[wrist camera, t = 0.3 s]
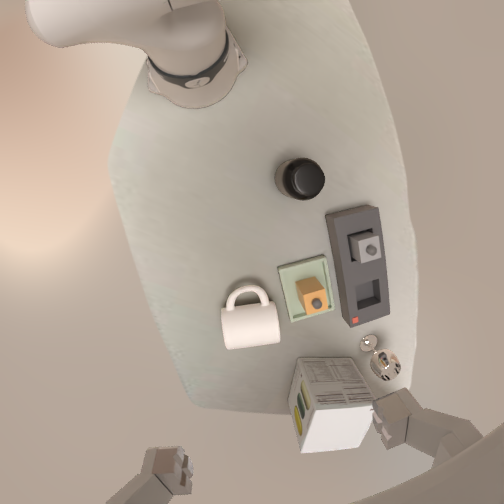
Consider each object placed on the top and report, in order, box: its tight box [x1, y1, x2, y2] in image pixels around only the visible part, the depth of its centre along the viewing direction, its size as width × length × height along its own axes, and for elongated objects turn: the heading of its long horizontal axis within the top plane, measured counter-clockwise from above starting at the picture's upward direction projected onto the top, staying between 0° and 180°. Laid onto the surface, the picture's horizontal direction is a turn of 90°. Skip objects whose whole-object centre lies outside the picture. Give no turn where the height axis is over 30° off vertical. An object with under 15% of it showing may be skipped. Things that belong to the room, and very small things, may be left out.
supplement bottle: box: [275, 158, 325, 200], centre depth 48 cm, size 7×7×12 cm
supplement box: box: [288, 358, 376, 453], centre depth 56 cm, size 13×13×18 cm
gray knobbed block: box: [347, 230, 381, 263], centre depth 52 cm, size 4×4×8 cm
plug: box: [295, 276, 328, 315], centre depth 54 cm, size 4×4×8 cm
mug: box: [221, 285, 280, 349], centre depth 55 cm, size 12×10×8 cm
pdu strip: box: [325, 205, 390, 328], centre depth 56 cm, size 22×9×5 cm, turn 14°
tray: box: [277, 255, 335, 322], centre depth 58 cm, size 11×9×2 cm
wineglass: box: [360, 335, 401, 381], centre depth 57 cm, size 6×6×12 cm
